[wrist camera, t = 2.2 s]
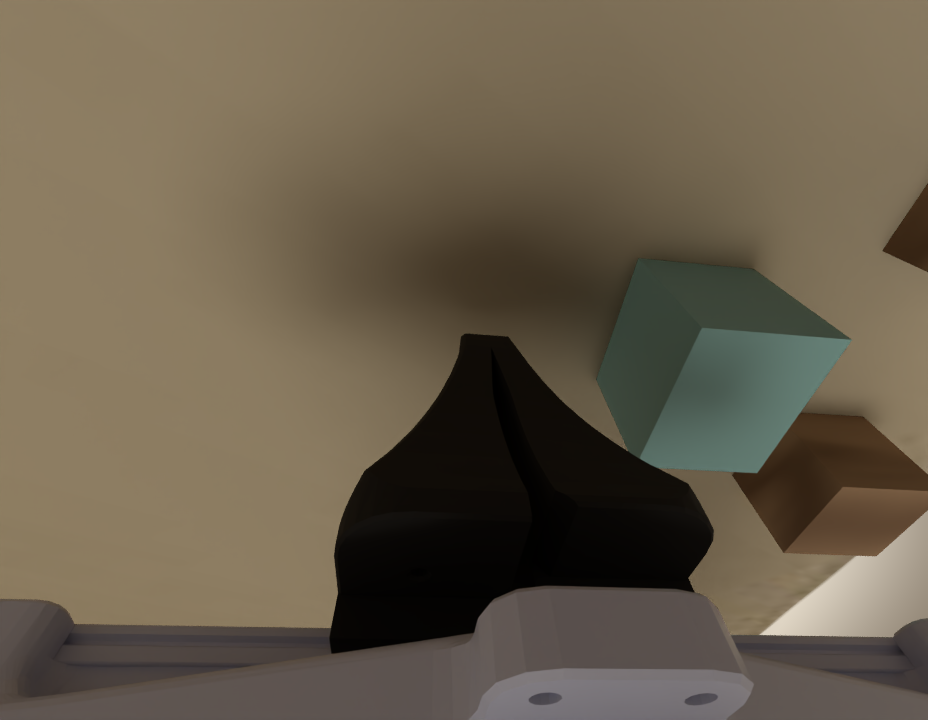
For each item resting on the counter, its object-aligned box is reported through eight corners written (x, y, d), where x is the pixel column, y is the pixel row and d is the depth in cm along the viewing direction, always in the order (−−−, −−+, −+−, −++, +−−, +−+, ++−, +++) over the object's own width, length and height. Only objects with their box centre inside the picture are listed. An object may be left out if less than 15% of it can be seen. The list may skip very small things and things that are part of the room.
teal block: (692, 385, 18) (757, 472, 14) (595, 378, 17) (635, 466, 14) (752, 268, 15) (852, 339, 11) (637, 257, 15) (701, 327, 11)
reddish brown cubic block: (810, 478, 21) (876, 556, 18) (731, 473, 21) (783, 552, 18) (861, 415, 19) (947, 492, 16) (774, 410, 19) (842, 486, 15)
